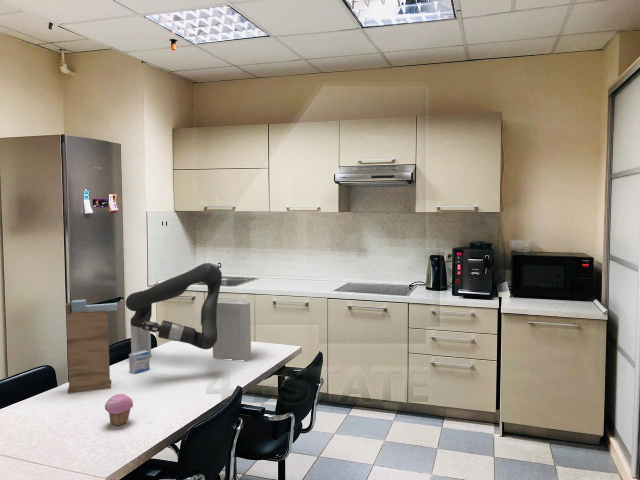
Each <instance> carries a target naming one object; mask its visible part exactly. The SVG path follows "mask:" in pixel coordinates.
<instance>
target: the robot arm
mask: <svg viewBox="0 0 640 480" xmlns="http://www.w3.org/2000/svg"><path fill="white" fill-rule="evenodd" d="M222 275H223V274H222V271H221V270H220V269H219V268H218V267H217V266H215V265H213V264H211V263H208V262H205V263H202V264H199V265H198V266H196V267H194V268H192V269H190V270H188V271H187V272H184V273H181V274H179V275H176V276H174V277H172V278H171V277H170V278H168V279H166V280H164V281H162V282H159V283H158V284H155V285H153V286H151V287H149V288H148V289H144V290H140V291H136V292H132V293H130V294H129V295H128V296H127V298H126V299H125V307H126V308H127V309H128V310H129V311H131V312H135V313H134V314H133V316H132V317H131V318H130V322H129V323H130V342H131V343H130V347H131V352H130V354H132V353H135V352H139V351H143V350H146V351H149V359H151V357H152V344H151V343H152V341H151V340H152V339H151V337H152V336H151V332H152V333H157V332H158V334H157V338H160V339H164V340H168V341H172V342H173V341H174V342H180V343H184V344H189V345H192V346H194V347H197V348H199V349H201V350H210V349H213V346H214V345H215V343H216V341H217V336H218V333H217V325H216V322H217V302H218V301H219V295H220V290H221V286H222V285H221V284H222V277H223V276H222ZM198 283H202V284H204V285H206V286H207V294H206V298H205V299H204V301H203V303H202V306H201V310H200V325H201V332H199V331H197V330H196V328H194V327H191V326H187V325H183V324H180V323H176V322H173V321H168V320H162V322H161V324H159V323H158V322H157V321H156V322H155V321H151V318H152V313H153V312H152V309H153V304H154V303H155V304H156V303H160V302H164V301H168V300H171V299H174V298H176V297H179V296H181V295H183V294H184V293H185V292H186V290H187V289H188V288H189V287H190V286H192V285H194V284H198Z"/></svg>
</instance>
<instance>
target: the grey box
mask: <svg viewBox="0 0 640 480" xmlns="http://www.w3.org/2000/svg"><path fill="white" fill-rule="evenodd" d="M216 325H217V333H218V336H217V341H216V343H215V345H214V346H213V347H212V358H215V360H224V359H232V360H231V361H235V360H244V361H243V362H249V361H250V360H252V343H251V342H252V341H251V340H252V338H251V337H252V335H251V330H252V329H251V302H250V301H249V300H247V299H246V298H245V297H243V298H242V297H238V298H237V297H236V298H230V299H220V300H219V299H218V302H217V322H216ZM249 359H250V360H249ZM248 360H249V361H248Z"/></svg>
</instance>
